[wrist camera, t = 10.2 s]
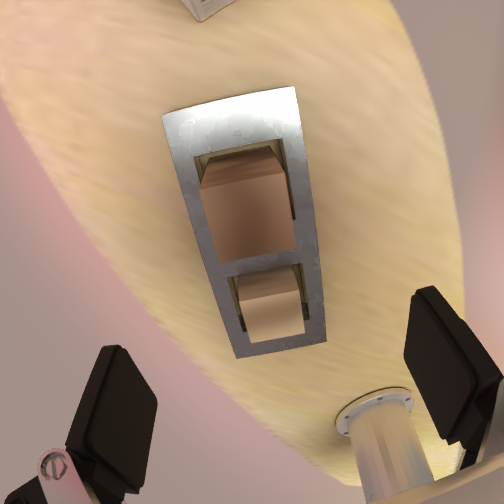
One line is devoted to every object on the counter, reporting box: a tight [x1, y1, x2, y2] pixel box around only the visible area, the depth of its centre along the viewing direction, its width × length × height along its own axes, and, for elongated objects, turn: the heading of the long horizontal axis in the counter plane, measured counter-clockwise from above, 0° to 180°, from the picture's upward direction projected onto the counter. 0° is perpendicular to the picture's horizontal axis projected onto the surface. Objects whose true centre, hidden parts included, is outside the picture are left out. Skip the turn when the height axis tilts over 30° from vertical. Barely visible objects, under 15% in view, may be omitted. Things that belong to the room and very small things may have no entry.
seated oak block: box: [238, 265, 305, 343], centre depth 28 cm, size 5×5×5 cm
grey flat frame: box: [161, 86, 327, 359], centre depth 26 cm, size 23×9×2 cm, turn 11°
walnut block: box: [199, 146, 296, 263], centre depth 21 cm, size 5×5×8 cm
